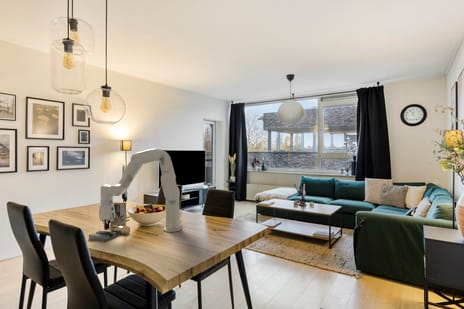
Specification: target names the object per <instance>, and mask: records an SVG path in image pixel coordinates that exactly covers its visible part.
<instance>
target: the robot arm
mask: <svg viewBox="0 0 464 309" xmlns="http://www.w3.org/2000/svg"><path fill="white" fill-rule="evenodd" d="M154 162H159V167H160V171H161V175H160V183H161V188H162V192H163V196H164V198H165V226H164V227H163V231H164V232H166V233H175V232H178V231H181V230H182V226H181V224H182V221H181V220H180V189H179V187H178V184H177V181H176V178H177V176H176V173H175V170H174V165H173V162H172V159H171V156H170V154H169V153H168V152H166V151H165V150H163V149H160V148H150V149H147V150H143V151H137V152H135V153H133V154H132V155H131V156H130V161H129V162H128V163H127V165H126V166H125V168H124V170H123V175H122V177H121V179H120V180H119V181H118V183H117V184H115V185H112V184H102V185H101V186H100V204H99V209H98V218H99V221H101V222H102V224H103V231H108V230H109V229H110V224H111V222H112V221H114V218H115V208H114V204H113V203H115V202H114V201H113V200H114V199H113V198H114V197H118V196H121V195H123V194H124V193H126V191H127V190H128V189H129V187H130V185H131V184H132V183H133V181H134V179H135V178H136V176H137V174H138V173H139V171H140V170H141V169H142V167H143V166H144V164H150V163H154Z"/></svg>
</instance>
